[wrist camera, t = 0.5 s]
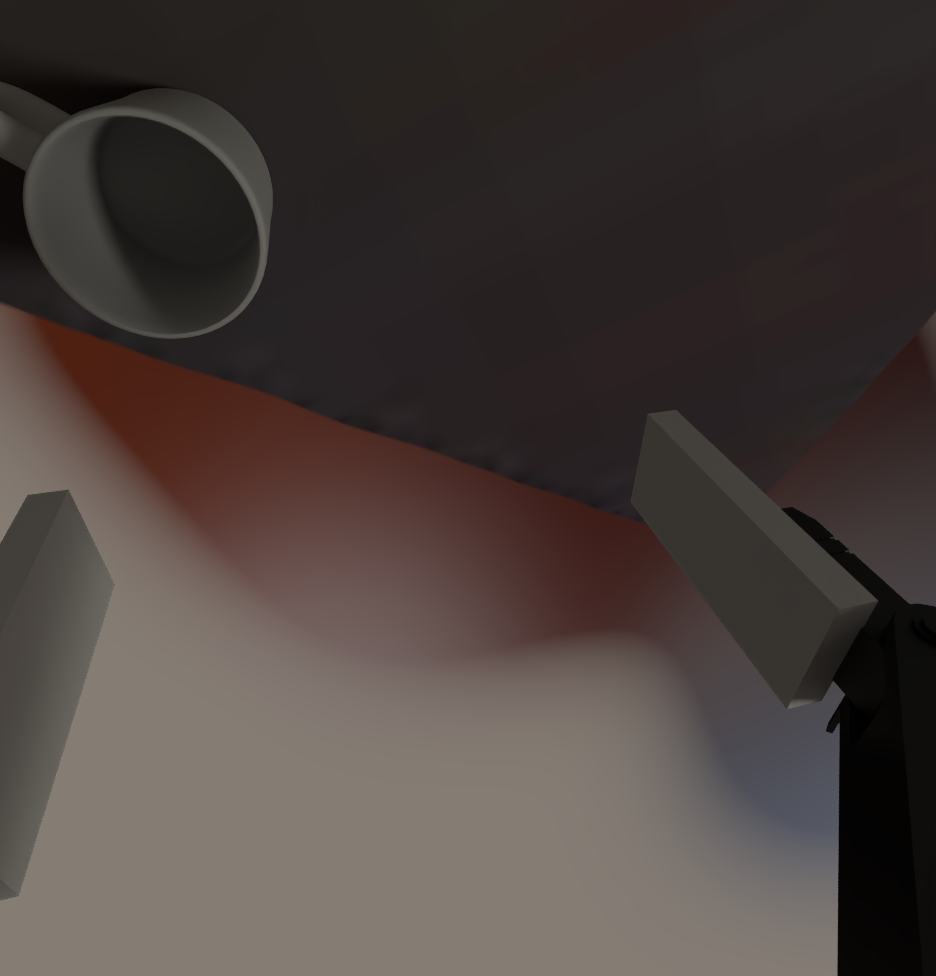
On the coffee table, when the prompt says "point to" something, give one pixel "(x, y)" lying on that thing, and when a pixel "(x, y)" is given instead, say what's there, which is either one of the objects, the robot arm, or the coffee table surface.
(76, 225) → the mug
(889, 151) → the coffee table surface
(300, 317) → the coffee table surface
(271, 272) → the coffee table surface
